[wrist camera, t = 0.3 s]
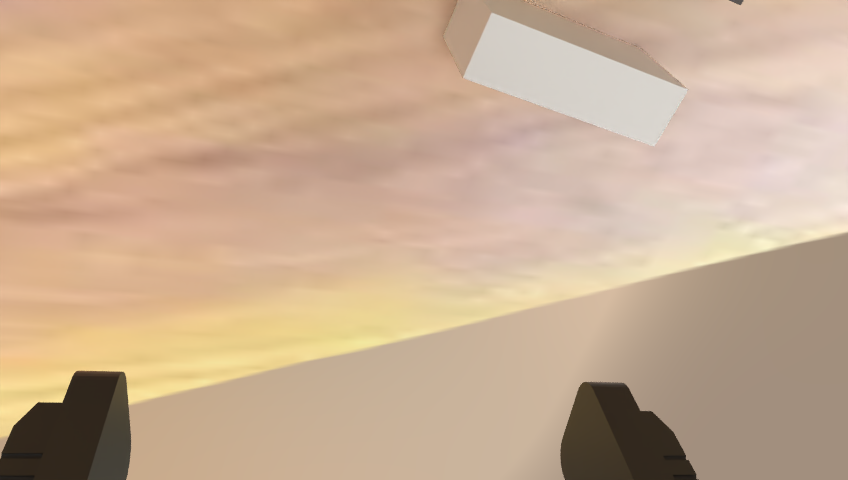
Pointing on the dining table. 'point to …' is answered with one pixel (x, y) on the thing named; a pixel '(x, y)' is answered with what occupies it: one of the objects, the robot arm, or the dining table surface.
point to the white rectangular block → (563, 67)
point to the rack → (737, 1)
